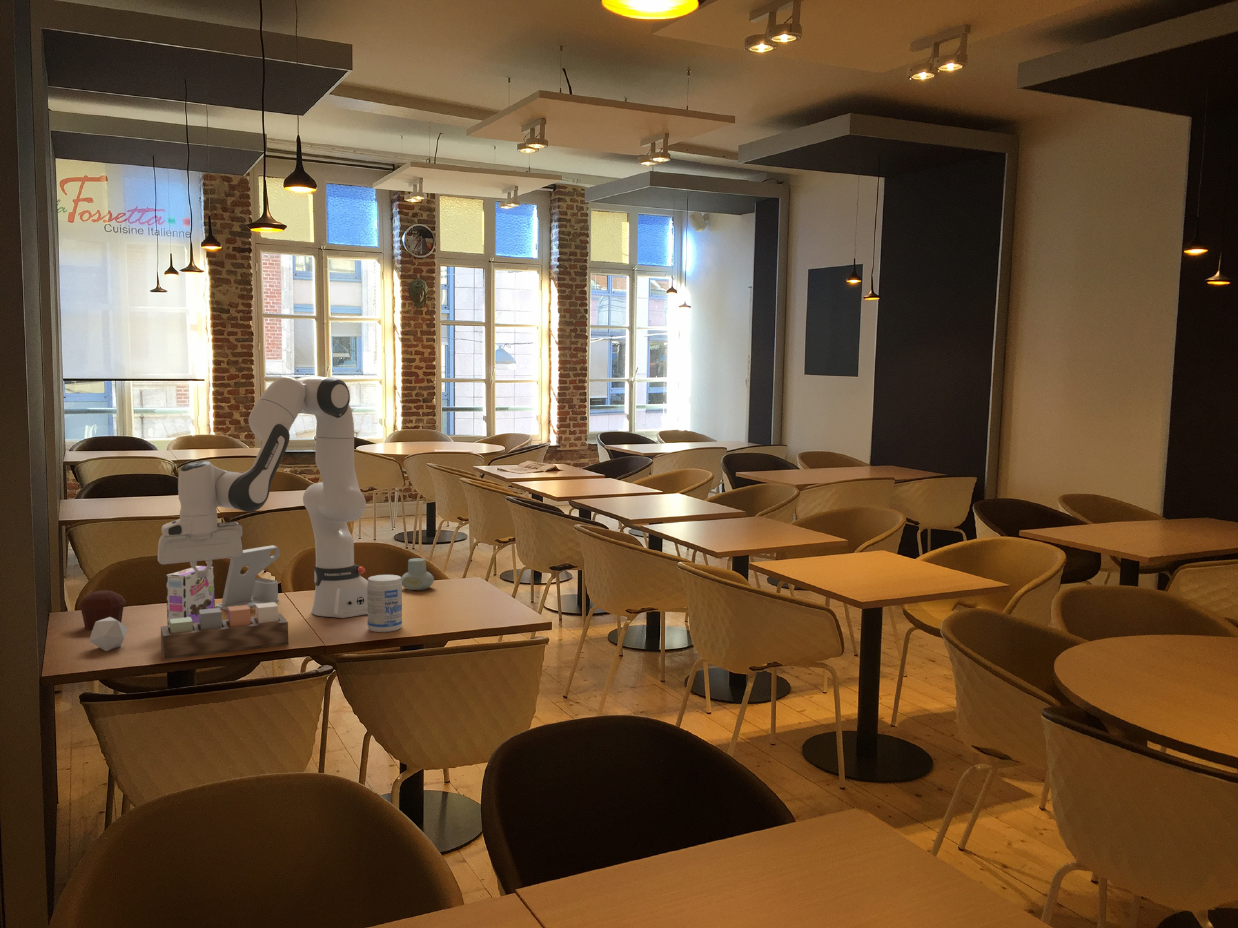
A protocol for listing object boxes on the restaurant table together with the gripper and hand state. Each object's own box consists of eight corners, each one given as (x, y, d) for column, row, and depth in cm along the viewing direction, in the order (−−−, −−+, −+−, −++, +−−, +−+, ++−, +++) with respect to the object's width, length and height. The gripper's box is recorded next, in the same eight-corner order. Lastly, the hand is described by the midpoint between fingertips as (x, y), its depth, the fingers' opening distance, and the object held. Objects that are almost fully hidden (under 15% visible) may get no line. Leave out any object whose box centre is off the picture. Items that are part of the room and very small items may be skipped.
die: (109, 644, 256) (84, 620, 251) (137, 628, 256) (113, 604, 251) (103, 663, 249) (77, 639, 244) (132, 647, 249) (107, 622, 244)
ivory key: (275, 620, 261) (274, 602, 260) (278, 624, 256) (278, 605, 256) (255, 622, 258) (255, 603, 258) (258, 626, 254) (258, 608, 253)
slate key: (219, 626, 254) (219, 607, 253) (222, 630, 250) (221, 611, 249) (199, 628, 251) (198, 609, 251) (201, 632, 247) (200, 613, 247)
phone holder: (262, 596, 309) (261, 541, 308) (282, 600, 304) (280, 544, 302) (213, 607, 295) (211, 549, 293) (233, 611, 289) (231, 552, 288)
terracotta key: (248, 623, 257) (247, 604, 257) (250, 627, 253) (250, 608, 252) (228, 625, 255) (227, 606, 254) (230, 629, 250) (229, 610, 250)
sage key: (191, 635, 251) (190, 616, 250) (193, 640, 246) (192, 621, 246) (170, 637, 248) (169, 618, 248) (171, 642, 244) (171, 623, 243)
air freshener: (437, 587, 325) (437, 558, 324) (428, 592, 317) (427, 562, 316) (407, 585, 327) (406, 556, 326) (396, 590, 319) (396, 561, 318)
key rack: (281, 634, 264) (281, 613, 264) (288, 644, 255) (287, 621, 255) (161, 649, 250) (160, 626, 249) (164, 659, 241) (163, 635, 241)
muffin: (73, 632, 265) (71, 596, 264) (88, 621, 276) (87, 587, 275) (119, 630, 267) (117, 595, 266) (132, 620, 278) (131, 586, 277)
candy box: (185, 634, 264) (183, 575, 263) (166, 632, 265) (164, 574, 264) (216, 621, 278) (214, 565, 276) (198, 620, 279) (196, 564, 277)
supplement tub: (390, 634, 266) (390, 582, 264) (360, 631, 269) (360, 579, 267) (408, 625, 275) (408, 575, 274) (379, 622, 278) (378, 572, 277)
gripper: (240, 519, 255) (243, 570, 256) (155, 526, 245) (158, 579, 247) (243, 522, 249) (246, 574, 251) (156, 530, 240) (160, 584, 241)
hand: (202, 577), depth 249 cm, fingers closed
